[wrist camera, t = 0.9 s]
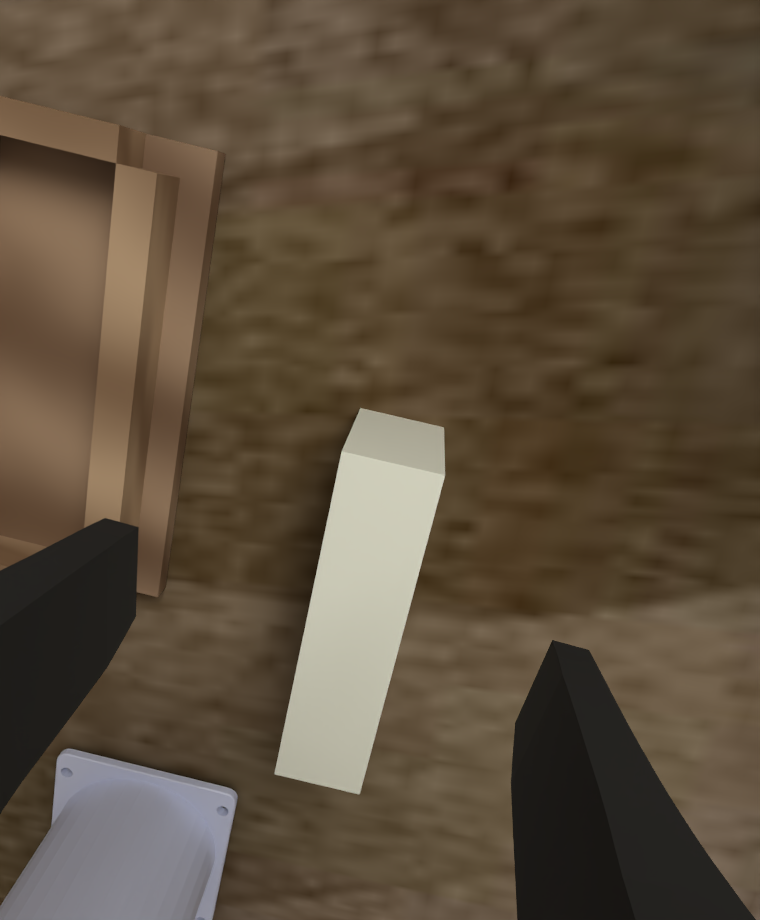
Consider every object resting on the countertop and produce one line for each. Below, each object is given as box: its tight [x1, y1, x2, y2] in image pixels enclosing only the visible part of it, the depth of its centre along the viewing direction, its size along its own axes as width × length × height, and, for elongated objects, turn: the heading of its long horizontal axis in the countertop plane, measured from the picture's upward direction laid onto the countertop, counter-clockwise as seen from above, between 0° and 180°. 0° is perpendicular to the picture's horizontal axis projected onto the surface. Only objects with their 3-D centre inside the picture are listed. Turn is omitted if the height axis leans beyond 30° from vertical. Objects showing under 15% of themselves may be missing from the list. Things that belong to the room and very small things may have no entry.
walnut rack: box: [0, 96, 226, 597], centre depth 23 cm, size 16×9×3 cm, turn 167°
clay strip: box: [274, 408, 445, 794], centre depth 23 cm, size 12×3×5 cm, turn 168°
